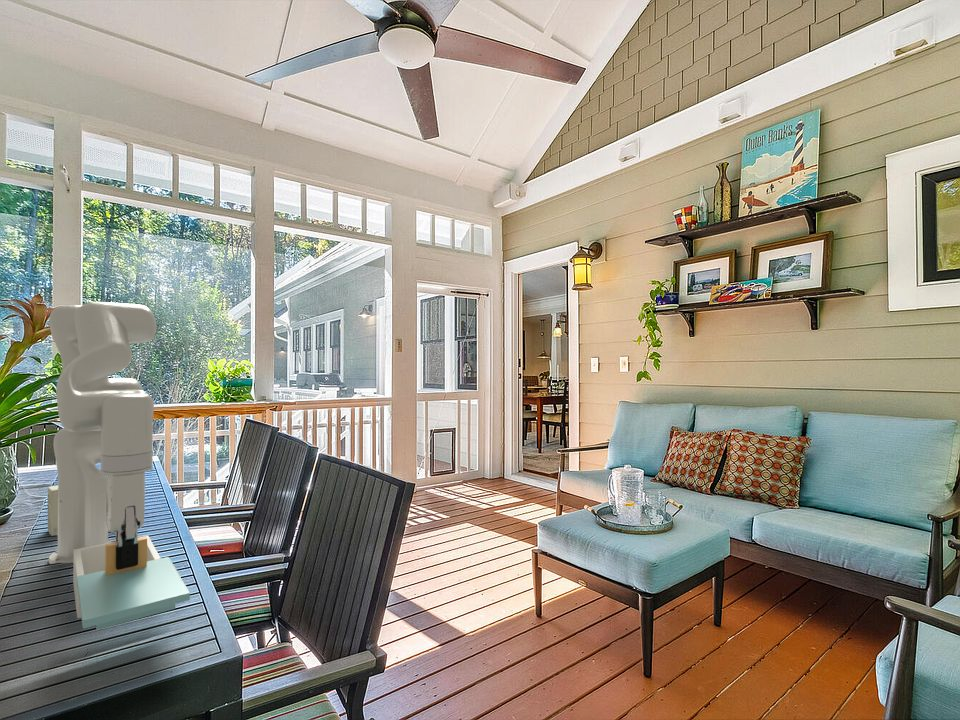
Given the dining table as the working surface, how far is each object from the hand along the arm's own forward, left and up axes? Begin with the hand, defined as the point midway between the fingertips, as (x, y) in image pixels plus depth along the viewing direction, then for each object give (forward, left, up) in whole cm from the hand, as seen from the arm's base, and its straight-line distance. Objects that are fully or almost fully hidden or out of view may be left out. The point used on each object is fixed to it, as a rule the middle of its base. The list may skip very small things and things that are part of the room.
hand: (126, 564), depth 89 cm
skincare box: (-67, -8, -11) cm, 69 cm away
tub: (-15, 0, -11) cm, 19 cm away
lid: (+8, 0, -4) cm, 8 cm away
